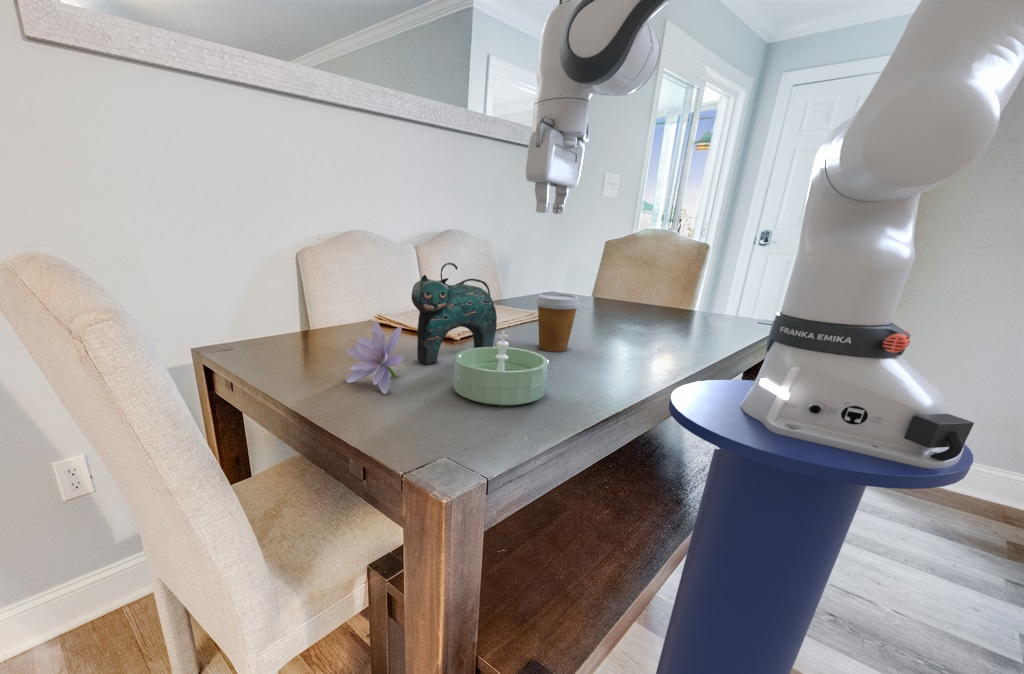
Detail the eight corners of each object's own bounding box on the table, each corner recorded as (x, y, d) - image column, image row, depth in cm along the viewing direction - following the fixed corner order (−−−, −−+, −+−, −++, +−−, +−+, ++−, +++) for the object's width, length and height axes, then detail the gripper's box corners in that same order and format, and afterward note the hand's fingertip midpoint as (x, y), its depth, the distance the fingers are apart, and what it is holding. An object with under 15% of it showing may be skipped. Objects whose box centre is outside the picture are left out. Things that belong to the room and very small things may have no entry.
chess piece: (484, 383, 82) (487, 328, 79) (512, 383, 82) (516, 328, 79) (486, 392, 78) (489, 334, 74) (515, 393, 78) (520, 335, 74)
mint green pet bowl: (563, 394, 79) (567, 360, 77) (500, 416, 70) (503, 378, 68) (497, 372, 90) (499, 342, 88) (435, 388, 82) (436, 355, 79)
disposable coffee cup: (582, 349, 107) (589, 297, 103) (554, 355, 102) (560, 301, 98) (550, 341, 114) (556, 292, 110) (523, 346, 109) (527, 295, 105)
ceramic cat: (420, 367, 93) (421, 265, 86) (406, 359, 98) (405, 262, 91) (499, 355, 102) (505, 261, 95) (481, 348, 107) (486, 259, 100)
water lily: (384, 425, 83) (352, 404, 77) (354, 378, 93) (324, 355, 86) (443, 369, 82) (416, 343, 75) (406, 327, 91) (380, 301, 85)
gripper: (560, 110, 68) (550, 211, 73) (591, 132, 84) (581, 214, 89) (519, 115, 71) (512, 212, 76) (557, 135, 87) (549, 214, 92)
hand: (550, 213), depth 83 cm, fingers open, 8 cm apart
